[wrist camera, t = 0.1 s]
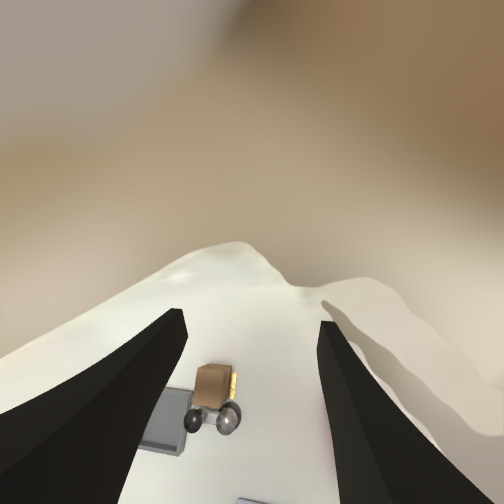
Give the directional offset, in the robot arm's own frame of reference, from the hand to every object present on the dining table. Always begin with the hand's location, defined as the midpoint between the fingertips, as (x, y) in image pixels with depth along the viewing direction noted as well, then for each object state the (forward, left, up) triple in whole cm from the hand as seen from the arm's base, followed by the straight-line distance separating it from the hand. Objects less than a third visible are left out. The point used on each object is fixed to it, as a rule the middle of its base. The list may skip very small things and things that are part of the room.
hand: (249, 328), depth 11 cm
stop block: (-9, +9, -32) cm, 34 cm away
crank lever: (-14, +9, -31) cm, 35 cm away
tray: (-15, +18, -32) cm, 39 cm away
